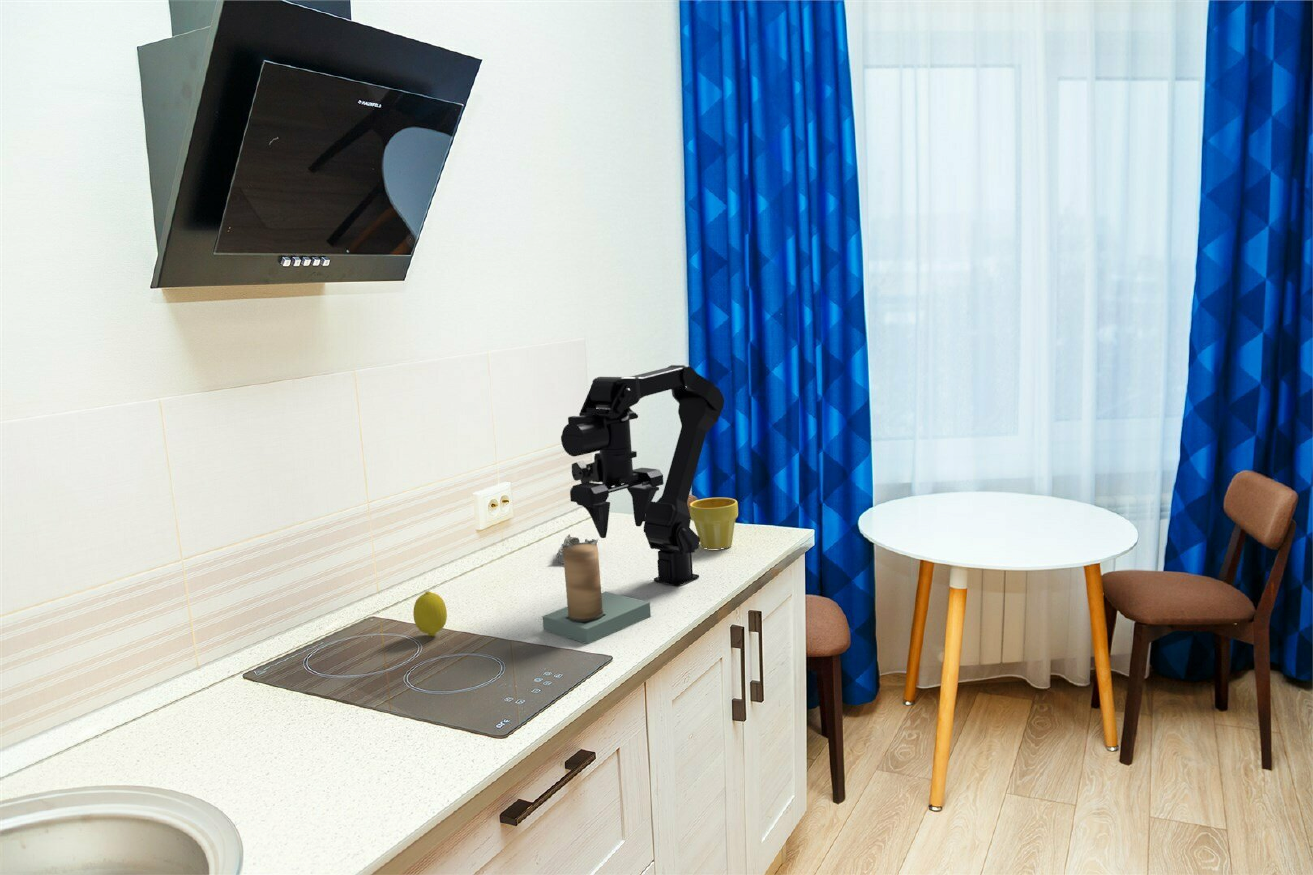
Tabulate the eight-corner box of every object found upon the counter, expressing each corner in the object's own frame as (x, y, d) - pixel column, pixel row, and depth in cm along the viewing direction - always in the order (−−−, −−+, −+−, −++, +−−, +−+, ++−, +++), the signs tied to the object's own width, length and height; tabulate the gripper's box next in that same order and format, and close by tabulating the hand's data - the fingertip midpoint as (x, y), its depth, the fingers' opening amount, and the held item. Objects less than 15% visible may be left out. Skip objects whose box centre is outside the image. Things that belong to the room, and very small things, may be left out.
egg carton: (569, 551, 209) (568, 533, 208) (602, 551, 207) (601, 533, 207) (554, 565, 199) (552, 546, 198) (588, 565, 197) (587, 546, 196)
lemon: (440, 642, 158) (436, 596, 157) (410, 641, 159) (405, 596, 158) (454, 630, 163) (449, 586, 162) (424, 629, 164) (419, 586, 163)
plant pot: (689, 542, 209) (686, 499, 207) (735, 537, 210) (732, 495, 208) (696, 555, 198) (693, 510, 197) (744, 550, 199) (741, 505, 198)
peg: (587, 620, 163) (581, 542, 161) (611, 627, 159) (605, 547, 157) (562, 631, 159) (555, 551, 157) (586, 638, 155) (579, 556, 153)
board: (606, 604, 171) (605, 591, 171) (650, 616, 164) (649, 602, 163) (543, 630, 160) (542, 616, 160) (587, 643, 153) (586, 629, 153)
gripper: (619, 436, 180) (624, 515, 183) (545, 452, 167) (552, 538, 169) (662, 439, 173) (667, 522, 175) (589, 457, 159) (596, 546, 162)
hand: (621, 531), depth 170 cm, fingers open, 9 cm apart
